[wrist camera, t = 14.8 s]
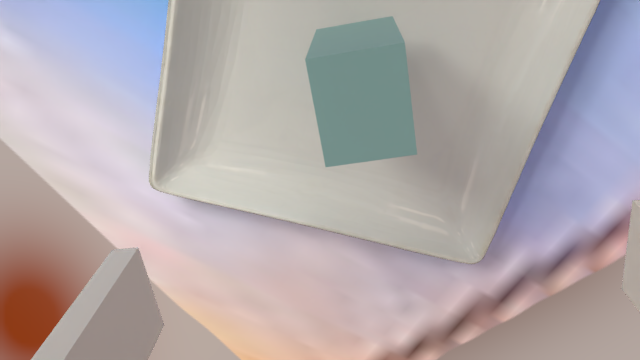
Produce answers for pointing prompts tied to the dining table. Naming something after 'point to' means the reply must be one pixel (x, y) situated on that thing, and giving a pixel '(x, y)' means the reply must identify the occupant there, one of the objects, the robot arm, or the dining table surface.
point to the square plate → (302, 130)
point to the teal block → (361, 92)
